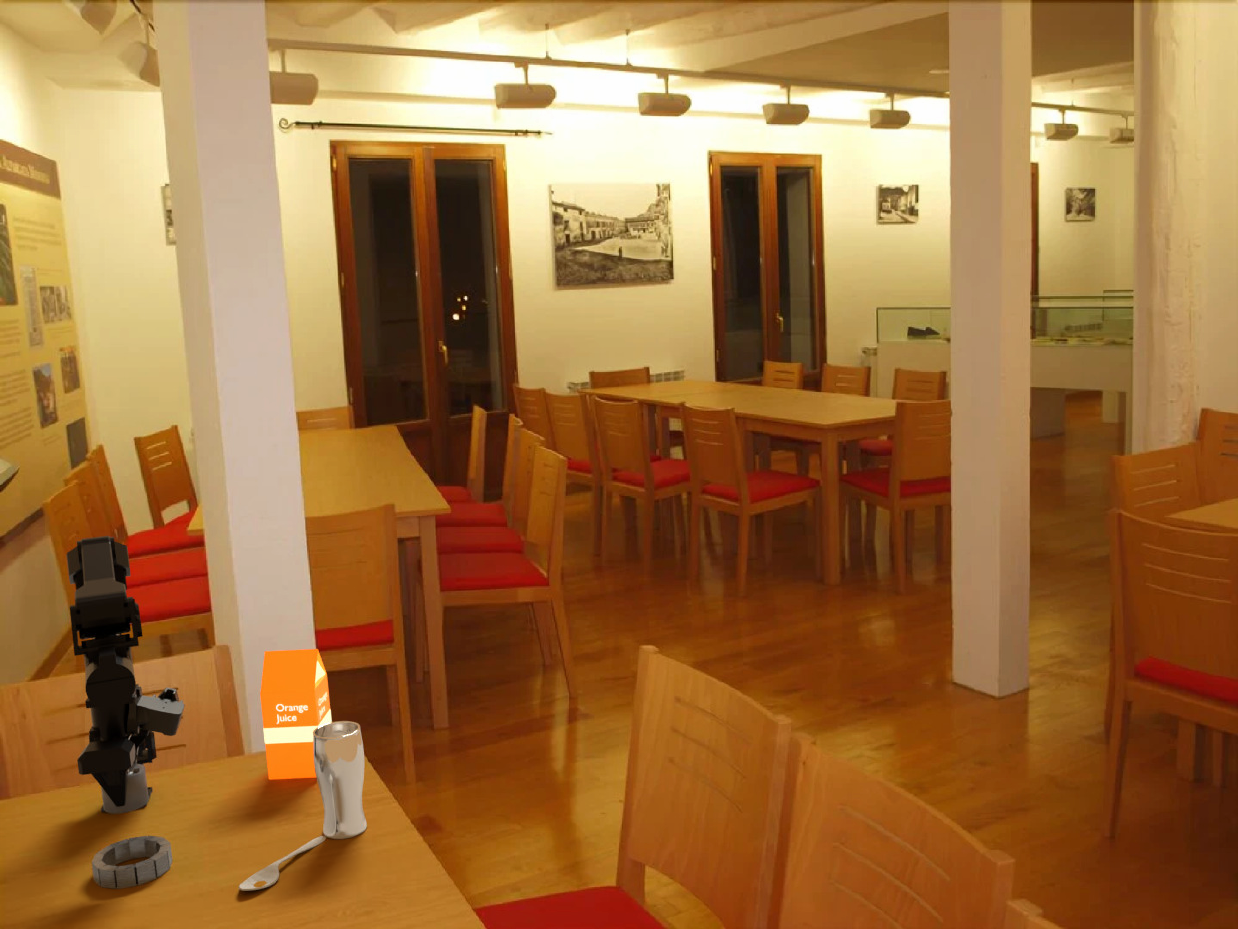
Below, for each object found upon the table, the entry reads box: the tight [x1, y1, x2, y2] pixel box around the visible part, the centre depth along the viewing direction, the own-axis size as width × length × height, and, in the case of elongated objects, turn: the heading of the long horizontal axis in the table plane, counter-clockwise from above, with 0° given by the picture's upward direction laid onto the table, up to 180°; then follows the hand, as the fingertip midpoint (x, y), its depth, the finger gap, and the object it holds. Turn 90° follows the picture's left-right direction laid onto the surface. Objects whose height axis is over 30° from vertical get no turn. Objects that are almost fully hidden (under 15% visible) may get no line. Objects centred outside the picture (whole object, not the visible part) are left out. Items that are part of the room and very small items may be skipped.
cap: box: [100, 764, 150, 814], centre depth 155 cm, size 6×6×5 cm
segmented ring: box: [91, 835, 173, 890], centre depth 156 cm, size 10×10×2 cm
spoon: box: [238, 835, 327, 892], centre depth 157 cm, size 4×21×2 cm, turn 158°
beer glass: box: [313, 720, 368, 840], centre depth 164 cm, size 7×7×15 cm
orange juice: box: [259, 648, 333, 780], centre depth 187 cm, size 8×9×20 cm
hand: (125, 796), depth 155 cm, fingers closed on cap, 6 cm apart
